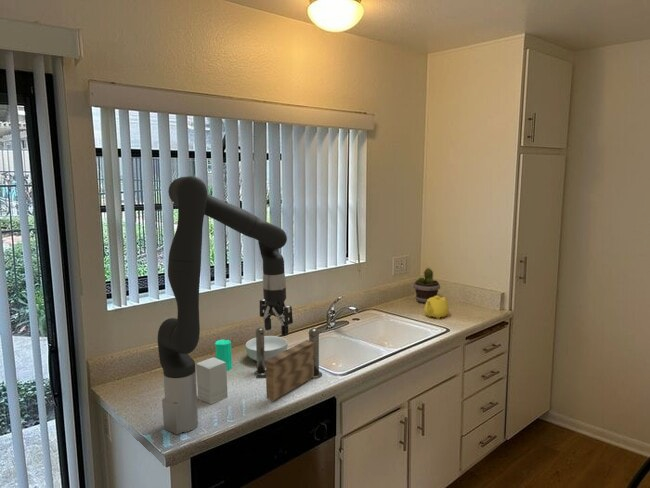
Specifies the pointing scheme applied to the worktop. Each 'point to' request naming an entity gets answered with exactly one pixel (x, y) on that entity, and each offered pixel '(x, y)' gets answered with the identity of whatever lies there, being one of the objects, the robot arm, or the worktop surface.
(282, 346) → the cereal bowl
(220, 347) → the candle
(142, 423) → the worktop surface
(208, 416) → the worktop surface
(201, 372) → the supplement box
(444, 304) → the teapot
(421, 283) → the flowerpot
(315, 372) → the gate posts
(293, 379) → the gate
